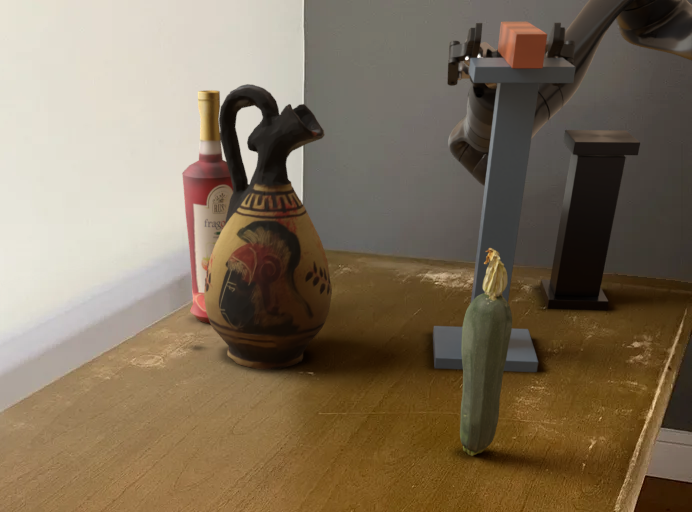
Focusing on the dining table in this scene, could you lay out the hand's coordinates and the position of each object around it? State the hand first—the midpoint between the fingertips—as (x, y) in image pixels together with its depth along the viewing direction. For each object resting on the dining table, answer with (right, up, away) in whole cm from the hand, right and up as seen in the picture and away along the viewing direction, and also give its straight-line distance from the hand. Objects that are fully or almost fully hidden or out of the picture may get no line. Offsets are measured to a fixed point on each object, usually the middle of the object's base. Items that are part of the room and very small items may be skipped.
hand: (517, 31), depth 106 cm
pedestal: (+17, -20, +31) cm, 41 cm away
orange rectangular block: (-1, -4, -2) cm, 5 cm away
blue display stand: (-1, -33, +13) cm, 35 cm away
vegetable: (-8, -49, -11) cm, 51 cm away
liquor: (-34, -25, +26) cm, 50 cm away
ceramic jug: (-28, -33, +14) cm, 45 cm away
